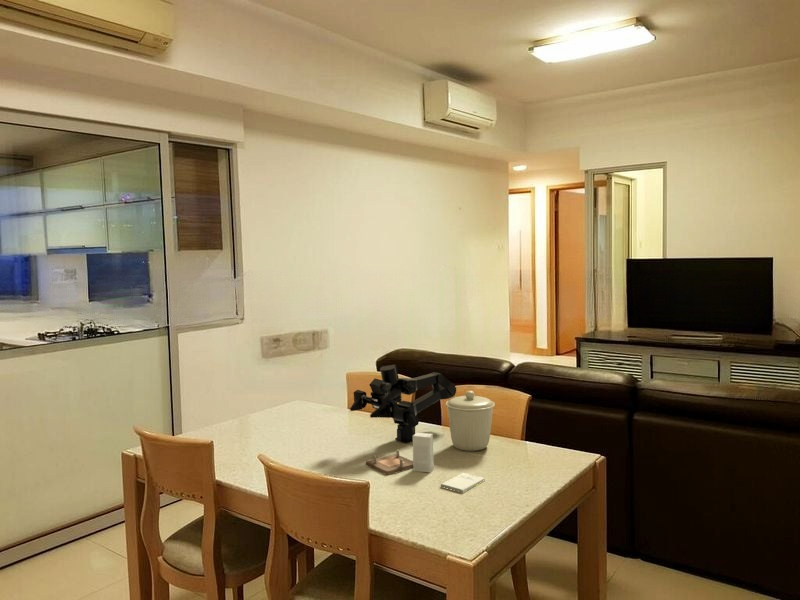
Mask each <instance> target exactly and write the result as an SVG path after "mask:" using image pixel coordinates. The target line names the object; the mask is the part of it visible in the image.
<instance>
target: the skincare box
mask: <svg viewBox="0 0 800 600" xmlns="http://www.w3.org/2000/svg"><path fill="white" fill-rule="evenodd" d="M412 437H413V441H412V461H413V468H412V469H413V472H421V473H430V474H431V472H433V470H434V434H433V433H426V432H415V434H414V435H413V436H412Z"/></svg>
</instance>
